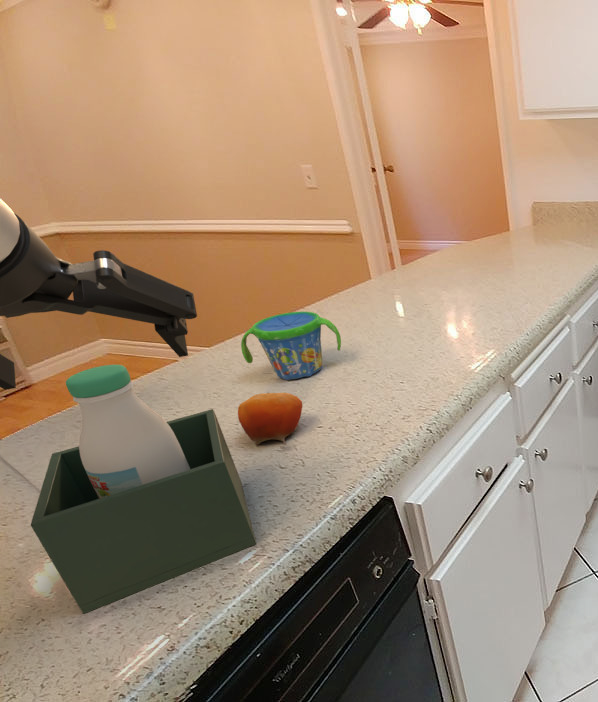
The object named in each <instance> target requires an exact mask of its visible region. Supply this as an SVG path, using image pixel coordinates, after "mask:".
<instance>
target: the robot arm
mask: <svg viewBox="0 0 598 702" xmlns="http://www.w3.org/2000/svg"><path fill="white" fill-rule="evenodd" d="M92 257H93V260H90V261H89V260H88V261H84V262H77V263H71V262H70V261H67V260H64V259H61V258H59V257H57V256H56V255H55V254H54V253H53V251H52V250H51V249H50V247H49V246H48V245H47V244H46V242H45V241H44V240H43V239H42V238H41V237H40V236H39V235H38V234H37V233H36V232H35V231H34V230H33V229H32V228H31V227H30V226H29V225H28V224H27V223H26V222H25V221H24V220H23V219H22V218H21V217H20V216H19V215H18V214H16V212H14V211H13V209H11V208H10V206H8V205H7V203H5V201H4V200H2V198H0V317H5V318H8V319H9V318H14V317H15V318H16V317H20V316H25V315H28V314H39V313H50V312H62V313H68V314H73V315H80V316H83V315H85V314H86V313H88V312H90V313H95V314H100V315H104V316H105V315H106V316H110V317H116V318H122V319H126V320H132V321H136V322H142V323H147V324H153V325H154V331H155V332H156V333H157V335H158V336H160V338H161V339H162V340H163V341H164V342H165V343H166V344H167V345H168V346H169V348H170V349H171V350H172V351H173V352H174V353H175V354H176V355H177V356H178V358H183V357H187V356H189V353H188V352H189V351H188V345H187V339H186V336H187V335H188V333H189V331H188V325H187V324H188V323H187V320H193V319H195V318H197V317H198V314H197V308H196V307H197V306H196V302H195V296H194V293H193V292H191V291H189V290H187V289H184V288H182V287H180V286H177V285H175V284H174V283H172V282H171V283H170V282H168V281H166V280H163V279H162V278H160V277H157V276H154V275H152V274H149V273H147V272H145V271H143V270H140V269H138V268H135V267H134V266H131V265H129V264H126V263H124V262H123V261H122V260H121V259H119V258H118V257H117V256H116V255H115V254H114V253H113V252H111V251H110V250H105V249H104V250H103V249H102V250H101V249H100V250H96V251H94V252H93V256H92ZM71 295H72V297H73V298H72V299H69V298H70V296H71ZM15 368H16V367H15V362H14V361H12V360H10V359H9V358H7V357H6V356H4V355H3V354H1V353H0V388H1V389H3V390H4V391H7V390H12V389H16V388H17V385H16V370H15Z"/></svg>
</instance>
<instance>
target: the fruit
mask: <svg viewBox="0 0 598 702" xmlns="http://www.w3.org/2000/svg"><path fill="white" fill-rule="evenodd" d="M302 411H303V401H302V400H301V399H300V398H299V397H298V396H297V395H294V394H293V393H288V392H267V393H265V392H263V393H257V394H254V395H252V396H250V397H249V398H248V399H246V400H245V401H243V402H241V403H240V404H239V405H238V408H237V418H238V421H239V423H240V425H241V427H242V430H243V431H244V433H245V434H246V435H247V436H248V437H249V439H250V441H252V442H253V443H254V444H255V445H256V446H258V445H259V444H261V443H263V442H265V441H269V440H275V441H281V442H283V444H284V445H287V443H286V440H285V439H286V437H288V436H289V435H291V434H292V433H294V432H295V431H296V429H297V427H298V426H299V422H300V420H301V417H302Z"/></svg>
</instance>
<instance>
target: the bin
mask: <svg viewBox="0 0 598 702" xmlns="http://www.w3.org/2000/svg"><path fill="white" fill-rule="evenodd" d="M166 422H167V423H168V425H169V426H170V427H171V429H172V431H173V432H174V434H175V436H176V438H177V440H178V442H179V444H180V446H181V449H182V451H183V453H184V455H185V458H186V460H187V462H188V465H189V467H190V470H187V471H184V472H181V473H178V474H175V475H171V476H168V477H165V478H162V479H159V480H156V481H153V482H150V483H147V484H143V485H140V486H137V487H134V488H131V489H128V490H125V491H122V492H119V493H116V494H112V495H109V496H106V497H103V498H100V499H99V497H98V495H97V493H96V491H95V489H94V487H93V485H92V483H91V481H90V479H89V477H88V475H87V473H86V470H85V468H84V466H83V464H82V460H81V457H80V451H79V445H78V446H75V447H72V448H68V449H65V450H60V451H56V452H53V453H51V456H50V459H49V461H48V465H47V469H46V472H45V476H44V479H43V482H42V486H41V489H40V491H39V495H38V499H37V502H36V505H35V509H34V512H33V516H32V519H31V522H30V527H31V528H32V530H33V532H34V534H35V536H36V537H37V539H38V540H39V542H40V544H41V545H42V547H43V548H44V551H45V552H46V554H47V556H48V557H49V559H50V561H51V562H52V564H53V566H54V568H55V569H56V571H57V573H58V575H59V576H60V577H61V579H62V581H63V583H64V584H65V586H66V588H67V590H68V592H69V593H70V594H71V596H72V598H73V599H74V601H75V603H76V605H77V606H78V608H79V610H80V611H81V613H82V614H88V613H90V612H92V611H94V610H97V609H99V608H102V607H105V606H107V605H109V604H112V603H114V602H117V601H119V600H121V599H124V598H127V597H129V596H131V595H134V594H136V593H139V592H142V591H143V590H146V589H148V588H151V587H154V586H156V585H159V584H162V583H163V582H166V581H169V580H171V579H174V578H176V577H179V576H181V575H183V574H186V573H188V572H190V571H193V570H195V569H198V568H200V567H203V566H205V565H208V564H211V563H213V562H215V561H218V560H220V559H222V558H226V557H228V556H230V555H233V554H235V553H237V552H240V551H242V550H245V549H247V548H250V547H252V546H255V545H257V540H256V536H255V532H254V528H253V524H252V520H251V517H250V512H249V507H248V503H247V499H246V495H245V491H244V488H243V483H242V480H241V478H240V476H239V473H238V470H237V467H236V465H235V462H234V459H233V457H232V454H231V451H230V449H229V447H228V443H227V440H226V439H225V438H226V437H225V436H224V433H223V430H222V428H221V424H220V423H219V420H218V417H217V415H216V412H215V410H214V408H211V409H208V410H204V411H201V412H197V413H192V414H190V415H187V416H183V417H179V418H175V419H172V420H169V421H166Z"/></svg>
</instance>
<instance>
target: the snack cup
mask: <svg viewBox="0 0 598 702" xmlns="http://www.w3.org/2000/svg"><path fill="white" fill-rule="evenodd" d="M322 325H324V326H326V327H327V328H328V329H329V330H330V331H332V333H334V335H335V337H336V343H337V349H336V350H337V351H341V346H342V337H341V334H340V332H339V330H338V328H337V326H336V325H335V324H334V323H333V322H332V321H330V320H329V319H327V318H324V317H321V316H320V315H319V314H318V313H315V312H313V311H292V312H285V313H278V314H274V315H271V316H268V317H265V318H262V319H261V320H259V321H257V322H255V323H254V324H253V325H252V326H251V327H250V328H249V329H248V330H247V331H246V332H245V334H243V336H242V339H241V344H240V345H241V347H240V348H241V354H242V356H243V358H244V361H246V362H247V363H248V364H252V363H253V361H254V358H253V355H252V354H251V351H250V349H249V348H248V346H247V340H248V339H247V338H248V337H249V335H251V334H252V335H253V336H254V337H256V339H258V341H259V343H260V345H261V347H262V349H263V351H264V353H265V356H266V357H267V359H268V361H269V363H270V365H271V367H272V368H273V370H274V373H275V374H276V375H277V377H278V378H279V379H283V380H286V381H289V380H297V379H301V378H304V377H311V376H312V375H314V374H316V373H318V372H319V371H320V370H321V369H323V367H324V366H323V363H324V362H323V352H322V340H321V337H322V335H321V334H322Z"/></svg>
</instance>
